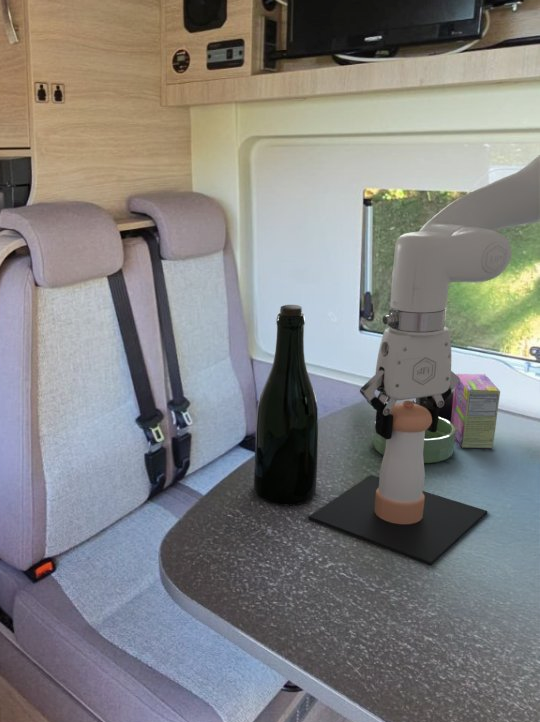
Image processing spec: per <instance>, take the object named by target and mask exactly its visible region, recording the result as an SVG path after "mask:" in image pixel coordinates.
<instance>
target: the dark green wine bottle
mask: <svg viewBox="0 0 540 722" xmlns="http://www.w3.org/2000/svg"><path fill="white" fill-rule="evenodd" d="M275 321H276V323H275V324H276V342H275V350H274V351H275V352H274V356H273V362H272V366H271V368H270V371H269V374H268V376H267V379H266V381H265V383H264V385H263V388H262V389H261V390H262V391H261V393H260V395H259V400H258V404H257V409H256V410H257V411H256V420H255V422H256V424H255V441H254V443H255V444H254V468H253V469H254V470H253V471H254V472H253V473H254V474H253V488H254V491H255V494H256V495H257V496H258V497H259V498H261V499H262V500H264V501H266V502H269V503H271V504H276V505H282V506H294V505H295V506H296V505H301V504H303V503H307V502H308V501H310V500H312V499H313V498H314V497H315V495H316V492H317V480H318V479H317V478H318V454H319V452H318V451H319V450H318V449H319V406H318V399H317V396H316V392H315V390H314V386H313V384H312V382H311V378H310V375H309V372H308V369H307V364H306V359H305V340H304V339H305V324H306V317H305V314H304V313H303V307H302V306H300V305H298V304H285V305H282V306H280V309H279V313H278V314H277V317H276V319H275Z"/></svg>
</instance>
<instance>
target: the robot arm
mask: <svg viewBox="0 0 540 722" xmlns="http://www.w3.org/2000/svg"><path fill="white" fill-rule="evenodd" d="M539 222H540V154H538V155H537V156H536V157H535V158H534V159H533V160H531V161H530V162H529V163H528V164H526V165H525V166H524V167H523V168H521V169H520V170H518V171H517V172H515V173H512V174H510V175H508V176H505V177H502V178H500V179H498V180H495V181H493V182H491V183H489V184H487V185H484V186H482V187H480V188H477V189H475V190H473V191H470V192H468V193H466V194H463V195H462V196H460V197H458V198H457V199H455V200H454V201H452V202H450V203H449V204H448V205H446V206H445V207H444V208H442V209H441V210H440V211H439V212H438V213H436V214H435V215H433V217H431V219H429V220H428V221H427V222H426V223H424V224H423V226H422V227H421V228H420V229H419V230H418V231H411V232H407V233H403V234H400V236H398V238H397V239H396V241H395V245H394V255H393V257H394V258H393V268H392V276H391V277H392V279H391V291H390V301H389V302H390V306H389V310H388V314H386V315H383V316H382V324H383V325H385V326H388V327H387V328H384V331H383V334H382V337H381V341H380V344H379V349H378V354H377V360H376V366H375V367H376V368H375V373H374V375H373V376H372V377H371V378H370V379H369V380H368V381H366V382H365V384H364V385H363V386H362V387H361V388H359V393H360V394H361V395H362V396H363V398H364V399H365V400H366V402H367V403H368V404H370V406H371V407H372V408H373V410H375V411H376V412H375V421H376V424H375V423H374V428H375V429H376V433H377V434H379V435H380V436H382V437H383V438H385V439H386V440H387V439H391V437H392V427H393V415H392V414H390V412H391V410H392V408H393V406H394V404H397V401H407V400H415V399H416V398H421V397H425V398H426V400H427V401H426V402H423V404H422V406H423V407H425V408H426V409H427V410H428V411H429V412H430V414H431V416H432V423H431V425H430V427H429V428H428V429H427V430H429V431H430V432H432V433H433V432H436V431H437V424H438V418H439V409H440V407H442V406H443V405H444V401H445V400H446V399H447V397H448V396H449V395H450V394H451V392H452V389H454V388H455V386H456V385H457V384H458V383H459V381H460V378H459V377H458V376H457V375H456V374H457V373H455V372H453V371H452V341H451V333H450V328H449V327H446V326H445V322H446V315H447V314H446V313H447V305H448V304H447V303H448V294H449V285H450V284H451V283H473V284H475V283H477V284H479V283H485V282H488V281H491V280H494V279H496V278H497V277H498V276H500V275H501V274H502V273H503V272H505V270H506V269H507V267H508V266H509V264H510V262H511V259H512V252H513V251H512V246H511V244H510V242H509V240H508V239H507V238H506V236H504V235H503V234H502V233H500V232H499V231H498V230H503V229H507V228H512V227H520V226H524V225H531V224H535V223H539ZM376 391H377V392H379V393H378V395H376V394H375V393H376Z"/></svg>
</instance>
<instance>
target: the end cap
mask: <svg viewBox="0 0 540 722" xmlns="http://www.w3.org/2000/svg"><path fill="white" fill-rule="evenodd" d="M453 395H454V389H452V392H451V394H450V395H449V396H448V397H447V399H446V400H445V401H444V405H443V406H442V407H440V409H439V417H440V418H443V419H446V420H448V421H451V415H452V405H453ZM411 401H412V402H413V403H414V404H418V405H420V406H422V404H423V402H426V401H427V400H426V398H425V397H421V398H415V399H412V400H411Z"/></svg>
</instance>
